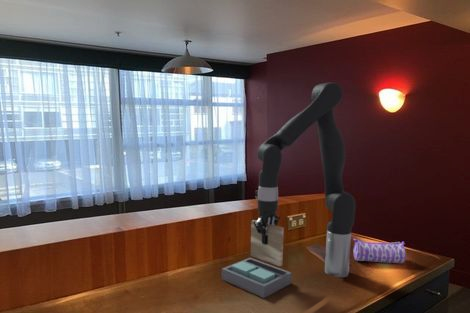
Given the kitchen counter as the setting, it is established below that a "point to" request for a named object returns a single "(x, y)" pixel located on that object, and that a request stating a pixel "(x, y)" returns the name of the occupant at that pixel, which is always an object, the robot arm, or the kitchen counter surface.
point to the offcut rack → (253, 286)
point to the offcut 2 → (261, 275)
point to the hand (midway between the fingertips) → (266, 243)
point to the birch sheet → (274, 246)
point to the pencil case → (379, 252)
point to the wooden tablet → (318, 252)
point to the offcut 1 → (243, 268)
